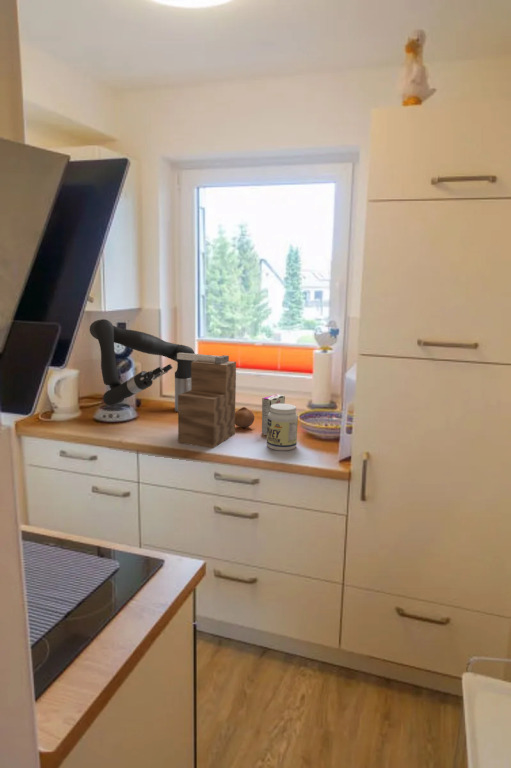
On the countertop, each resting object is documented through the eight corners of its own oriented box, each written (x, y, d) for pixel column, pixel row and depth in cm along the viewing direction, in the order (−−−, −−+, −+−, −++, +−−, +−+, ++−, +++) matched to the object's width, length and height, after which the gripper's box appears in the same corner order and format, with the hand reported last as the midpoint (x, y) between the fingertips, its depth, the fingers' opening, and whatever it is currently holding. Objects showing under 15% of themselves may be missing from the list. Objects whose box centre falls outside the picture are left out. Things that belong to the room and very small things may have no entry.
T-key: (183, 357, 223) (183, 351, 223) (228, 361, 215) (228, 355, 215) (173, 359, 216) (173, 354, 215) (220, 364, 208) (220, 358, 207)
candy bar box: (275, 428, 231) (276, 393, 228) (284, 430, 228) (285, 395, 225) (260, 434, 223) (261, 397, 219) (269, 436, 220) (271, 399, 216)
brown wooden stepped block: (202, 429, 227) (202, 358, 221) (234, 434, 221) (236, 361, 215) (178, 442, 208) (177, 365, 202) (213, 448, 202) (214, 369, 196)
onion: (240, 432, 224) (240, 410, 222) (229, 427, 232) (229, 406, 230) (258, 429, 229) (258, 408, 227) (246, 424, 237) (247, 403, 235)
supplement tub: (260, 446, 206) (261, 405, 203) (280, 440, 215) (282, 401, 212) (282, 453, 198) (284, 411, 195) (302, 447, 206) (304, 406, 203)
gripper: (126, 377, 223) (153, 362, 216) (144, 372, 236) (170, 357, 229) (133, 393, 223) (161, 377, 216) (152, 387, 236) (178, 372, 229)
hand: (166, 367), depth 222 cm, fingers open, 8 cm apart
